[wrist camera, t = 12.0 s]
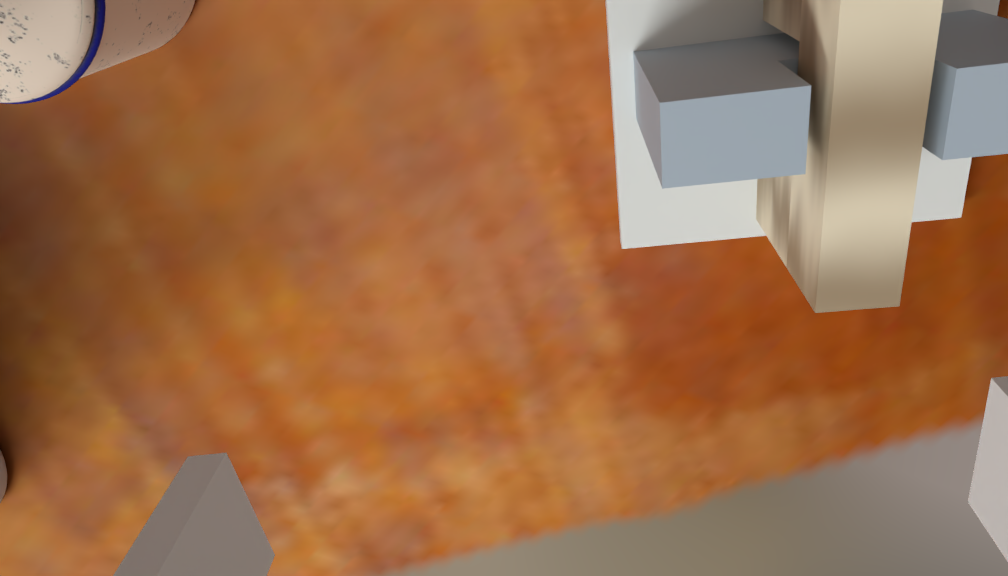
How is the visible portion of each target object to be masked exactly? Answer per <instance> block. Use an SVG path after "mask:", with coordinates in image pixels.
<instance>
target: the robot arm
mask: <svg viewBox="0 0 1008 576" xmlns="http://www.w3.org/2000/svg"><path fill="white" fill-rule="evenodd" d="M968 503H969V504H970V506H971V507H972V509H973V510H974V512H975V513H976V515H977V516H978V518H979V519H980V521H981V522H982V524H983V525H984V527H985V528H986V530H987V531H988V533H989V534H990V536H991V537H992V539H993V540H994V542H995V543H996V545H997V546H998V548H999V549H1000V551H1001V552H1002V554H1003V555H1004V557H1005V558H1006V560H1007V561H1008V376H1007V377H997V378H991V383H990V388H989V393H988V399H987V404H986V409H985V414H984V420H983V425H982V430H981V435H980V441H979V446H978V452H977V457H976V462H975V467H974V472H973V478H972V484H971V488H970V494H969V499H968ZM274 556H275V554H274V552H273V550H272V548H271V546H270V544H269V542H268V540H267V538H266V535H265V533H264V531H263V529H262V527H261V525H260V523H259V521H258V519H257V516H256V514H255V512H254V510H253V508H252V506H251V504H250V502H249V500H248V497H247V495H246V493H245V491H244V489H243V487H242V485H241V483H240V481H239V478H238V476H237V474H236V472H235V470H234V468H233V466H232V464H231V462H230V459H229V457H228V455H227V453H220V454H209V455H199V456H189V457H187V459H186V460H185V462H184V464H183V465H182V467H181V468H180V470H179V472H178V473H177V475H176V476H175V478H174V480H173V481H172V483H171V484H170V486H169V488H168V489H167V491H166V492H165V494H164V496H163V497H162V499H161V500H160V502H159V504H158V505H157V507H156V508H155V510H154V511H153V513H152V515H151V516H150V518H149V519H148V521H147V523H146V524H145V526H144V527H143V529H142V531H141V532H140V534H139V535H138V537H137V539H136V540H135V542H134V543H133V545H132V547H131V548H130V550H129V551H128V553H127V555H126V556H125V558H124V559H123V561H122V562H121V564H120V566H119V567H118V569H117V570H116V572H115V574H114V575H113V576H267V573H268V571H269V568H270V566H271V563H272V561H273V558H274Z"/></svg>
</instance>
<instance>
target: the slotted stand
mask: <svg viewBox="0 0 1008 576" xmlns="http://www.w3.org/2000/svg"><path fill="white" fill-rule="evenodd" d="M999 2H1000V0H943V6H942V13H941V20H940V27H939V34H938V41H937V48H936V55H935V62H934V69H933V76H932V83H931V90H930V96H929V103H928V110H927V117H926V124H925V131H924V138H923V145H922V152H921V159H920V166H919V173H918V180H917V187H916V194H915V201H914V208H913V215H912V222H918V221H929V220H940V219H951V218H961V216H962V210H963V204H964V199H965V193H966V188H967V182H968V176H969V171H970V165H971V159H972V157H979V156H989V155H999V154H1008V19H1007V18H1003V17H999V16H997V13H998V8H999ZM606 16H607V33H608V49H609V65H610V81H611V97H612V114H613V130H614V146H615V162H616V178H617V194H618V211H619V227H620V241H621V246H622V249H627V248H637V247H648V246H659V245H670V244H681V243H691V242H702V241H713V240H724V239H735V238H745V237H756V236H766V234H765V232H764V231H763V229H762V228H761V226H760V225H759V223H758V221H757V220H756V205H757V179H762V178H772V177H782V176H792V175H801V174H805V173H806V158H807V143H808V128H809V113H810V99H811V85H810V84H809V83H807V82H806V81H805V80H803V79H802V78H800V77H799V76H798V59H799V41H798V40H796V39H794V38H793V37H791V36H789V35H788V34H786V33H784V32H782V31H781V30H779V29H777V28H776V27H774V26H772V25H770V24H769V23H767V22H765V21H764V20H763V0H606Z"/></svg>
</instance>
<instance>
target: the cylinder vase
mask: <svg viewBox="0 0 1008 576" xmlns="http://www.w3.org/2000/svg"><path fill="white" fill-rule="evenodd" d="M6 487H7V469H6V464H5V460H4V457H3V455H2V452H1V450H0V503H1V501H2V499H3V497H4V494H5V491H6Z"/></svg>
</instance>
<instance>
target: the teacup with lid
mask: <svg viewBox="0 0 1008 576" xmlns="http://www.w3.org/2000/svg"><path fill="white" fill-rule="evenodd" d="M194 3H195V0H0V103H5V104H22V103H31V102H36V101H41V100H44V99H47V98H50V97H52V96H55V95H57V94H59V93H61V92H62V91H64V90H66V89H67V88H69V87H70V86H71V85H73V84H74V83H75V82H76V81H77V80H78V79H80V78H82V77H85V76H87V75H90V74H93V73H95V72H98V71H101V70H103V69H106V68H108V67H111V66H114V65H116V64H119V63H122V62H124V61H127V60H129V59H132V58H135V57H137V56H140V55H142V54H145V53H148V52H150V51H153V50H155V49H157V48H159V47H161V46H163V45H164V44H166V43H167V42H168V41H170V40H171V39H172V38H173V37H174V36H175V35H176V34H177V33H178V32H179V31H180V30H181V29H182V27H183V26H184V25H185V23H186V21H187V20H188V18H189V16H190V14H191V11H192V9H193V6H194Z"/></svg>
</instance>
